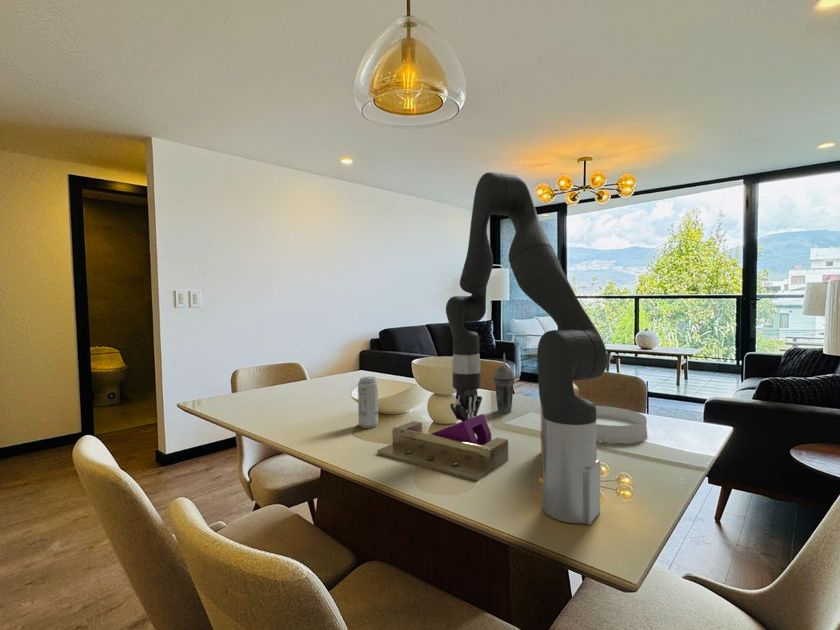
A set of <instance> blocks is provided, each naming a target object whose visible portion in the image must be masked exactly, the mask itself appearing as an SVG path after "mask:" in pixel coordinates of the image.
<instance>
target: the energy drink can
mask: <svg viewBox="0 0 840 630" xmlns="http://www.w3.org/2000/svg"><path fill="white" fill-rule="evenodd" d="M378 387H379V385H378V381H377V380H376V376H362V377H359V381H358V383H357V393H358V394H357V399H358V401H357V402H358V404H357V405H358V406H357V408H358V425H360V427H361V428H363V429H371V428H376V427H377V424H379V400H378V397H379V395H378Z"/></svg>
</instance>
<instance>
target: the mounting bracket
mask: <svg viewBox="0 0 840 630" xmlns="http://www.w3.org/2000/svg"><path fill="white" fill-rule="evenodd" d="M430 434H431V435H435V436H440V437H445V438H449V439H454V440H458V441H463V442H468V443H472V444H477V445H484V444H486V443H488V442H490V441H491V440H492V432H491V429H490V427H489V425H488V422H487V419H486V416H485V415H484V413H481V414H477V416H476V417H475V416H474V417H473V418H470V419H468V420H465V421H460V422H457V423H455V424H452V425H449V426H447V427H444V428H442V429H439V430H437V431H434V432H431V433H430Z"/></svg>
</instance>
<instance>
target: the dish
mask: <svg viewBox="0 0 840 630" xmlns="http://www.w3.org/2000/svg"><path fill="white" fill-rule="evenodd" d="M595 406H596V441H601V442H600V443H602V442H607V443H606V444H616V443H624V444H634V442H635V443H639V442H642V441H645V440H646V439H647V438H648V427H647V417H646V416H645V415H644V414H642V413H640V412H637V411H635V410H634V411H633V410H630V409H625V408H620V407H614V406H604V405H595Z"/></svg>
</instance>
